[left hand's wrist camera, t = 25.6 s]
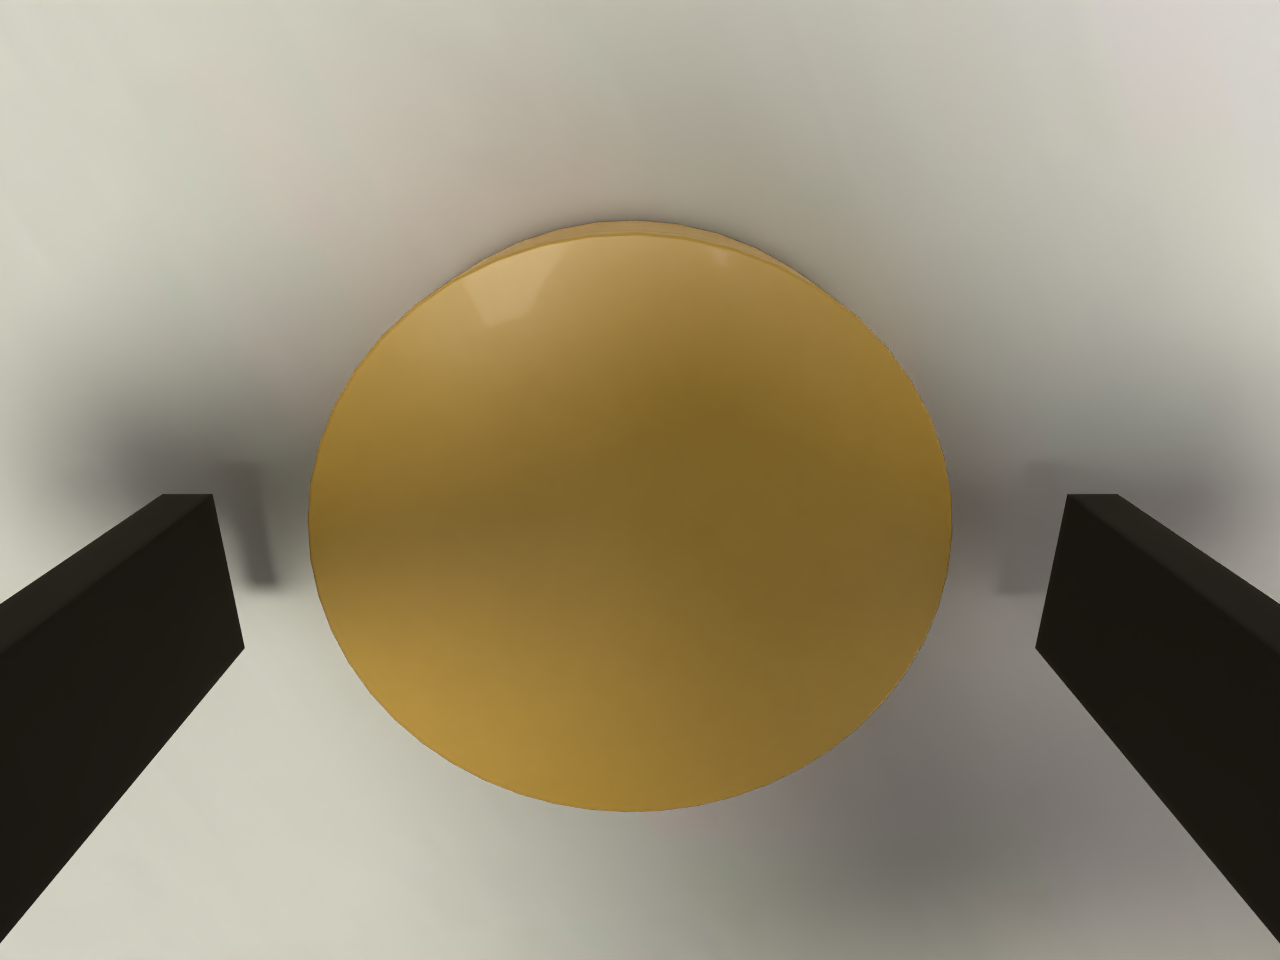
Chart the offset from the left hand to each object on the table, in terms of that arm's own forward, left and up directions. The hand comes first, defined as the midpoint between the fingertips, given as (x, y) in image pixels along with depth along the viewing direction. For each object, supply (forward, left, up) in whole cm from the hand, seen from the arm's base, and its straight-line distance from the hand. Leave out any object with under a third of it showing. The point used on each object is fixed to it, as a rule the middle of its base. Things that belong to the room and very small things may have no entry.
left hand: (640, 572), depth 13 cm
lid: (0, 0, 0) cm, 1 cm away
